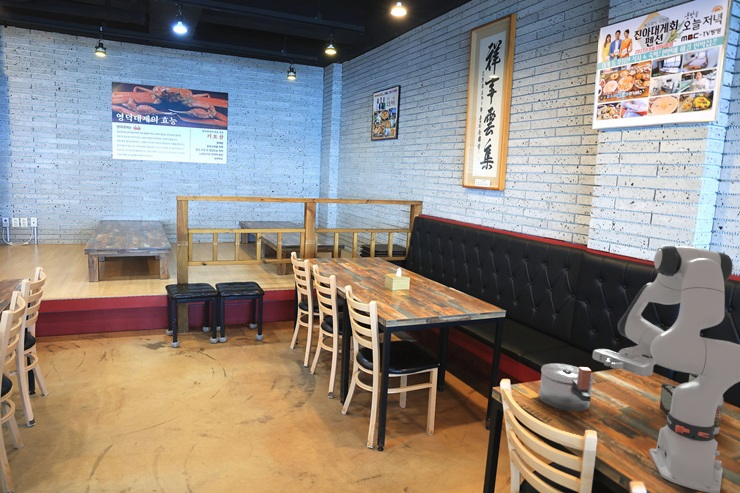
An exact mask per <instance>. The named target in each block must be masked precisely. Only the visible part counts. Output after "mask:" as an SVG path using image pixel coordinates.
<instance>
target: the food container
mask: <svg viewBox="0 0 740 493" xmlns="http://www.w3.org/2000/svg"><path fill="white" fill-rule="evenodd" d="M677 386H678V385H676V384H675V385H674V384H671V383H668V382H667V383H666V382H662V383H661V385H660V389H661V390H660V401H659V410H661V412H662V413H663V414H664V416H665V417H666V418H667V415H668V412H669V411H670V409H671V402H672V395H673V391H674V389H675V388H676V387H677Z"/></svg>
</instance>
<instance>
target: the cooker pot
mask: <svg viewBox="0 0 740 493" xmlns="http://www.w3.org/2000/svg"><path fill="white" fill-rule="evenodd" d="M592 387H593V383H592V384H590V386H589V390H588V393H585V392H579V391H578V390H577V389H576V388H575V387H574V386H573V385H570V384H564V383H560V382H557V381H554V380H552V379H549V378H547V377H546V376H544V375H543V374H542V373H541V376H540V385H539V392H538V393H539V394H538V395H539V399H540V400H541V401H542V402H543V403H545V404H546V405H548V406H550V407H552V408H556V409H559V410H562V411H567V412H584V411H587V410H588V409H589V408H590V404H591V397H592Z"/></svg>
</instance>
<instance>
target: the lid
mask: <svg viewBox="0 0 740 493" xmlns="http://www.w3.org/2000/svg"><path fill="white" fill-rule="evenodd" d="M540 371H541V375H542V374H543V375H544V376H546V377H547V378H549V379H552V380H554V381H557V382H560V383H564V384H570V385H573V386H574V387H575V388H576V389H577V390H578V391H579V392H585V393H588V390H589V386H590V384H592V385H593V383H594V380H595V379H594V375H593V373H592V370H591V369H590V368H589V367H587V366H586V367H585V366H579V367H578V366H574V365H570V364H566V363H546V364H543V365H542V366H541V368H540Z"/></svg>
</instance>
